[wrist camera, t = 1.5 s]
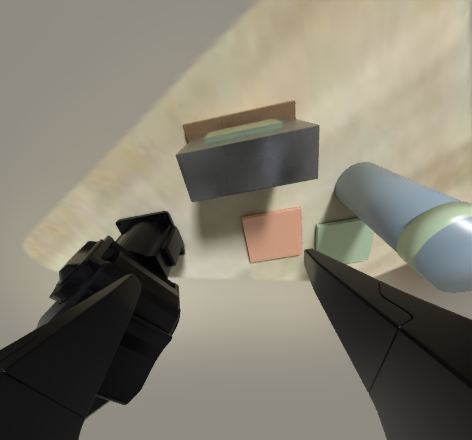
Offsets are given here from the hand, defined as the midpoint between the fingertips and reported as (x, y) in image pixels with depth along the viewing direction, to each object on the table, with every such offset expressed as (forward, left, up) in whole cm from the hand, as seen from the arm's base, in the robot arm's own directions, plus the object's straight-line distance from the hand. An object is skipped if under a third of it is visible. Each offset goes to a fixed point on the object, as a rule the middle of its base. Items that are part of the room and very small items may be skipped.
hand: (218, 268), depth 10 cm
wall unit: (+3, +4, -13) cm, 14 cm away
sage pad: (+14, -11, -13) cm, 22 cm away
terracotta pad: (+5, -8, -13) cm, 16 cm away
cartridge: (+15, -3, -13) cm, 20 cm away
